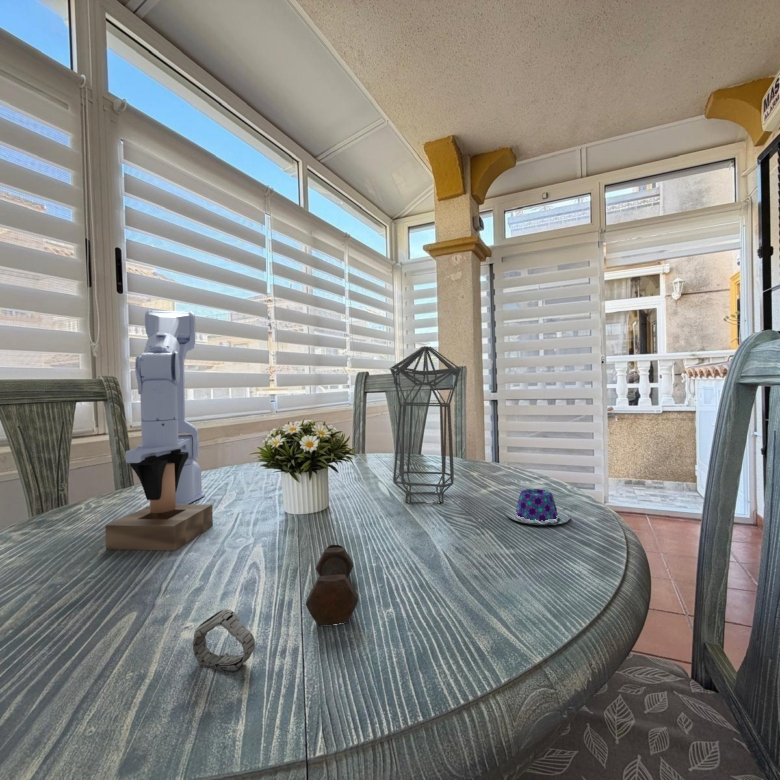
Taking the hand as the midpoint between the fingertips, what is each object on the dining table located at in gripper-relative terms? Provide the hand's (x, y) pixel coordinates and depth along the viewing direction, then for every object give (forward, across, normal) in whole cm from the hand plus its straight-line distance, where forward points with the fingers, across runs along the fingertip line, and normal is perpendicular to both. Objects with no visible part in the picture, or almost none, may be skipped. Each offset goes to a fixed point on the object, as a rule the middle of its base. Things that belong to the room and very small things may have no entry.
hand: (162, 495), depth 74 cm
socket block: (+7, 0, 0) cm, 7 cm away
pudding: (+8, -13, +68) cm, 70 cm away
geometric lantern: (+8, -26, +47) cm, 54 cm away
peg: (+2, 0, 0) cm, 2 cm away
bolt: (+8, +18, +36) cm, 40 cm away
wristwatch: (+8, +32, +28) cm, 43 cm away
